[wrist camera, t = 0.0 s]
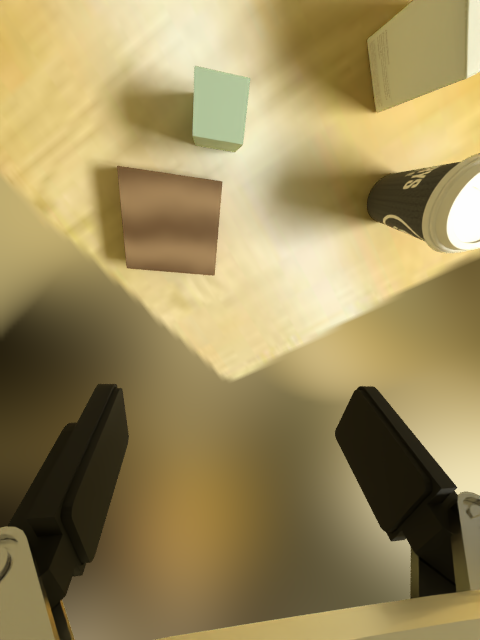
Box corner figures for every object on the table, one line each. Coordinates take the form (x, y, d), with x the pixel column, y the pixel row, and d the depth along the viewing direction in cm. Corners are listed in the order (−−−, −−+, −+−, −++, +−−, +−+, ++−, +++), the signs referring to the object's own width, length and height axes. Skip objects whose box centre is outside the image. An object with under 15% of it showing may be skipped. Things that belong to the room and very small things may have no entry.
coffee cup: (430, 195, 37) (549, 204, 24) (377, 244, 40) (459, 275, 27) (400, 143, 33) (523, 120, 20) (344, 201, 36) (421, 213, 23)
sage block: (197, 93, 28) (194, 65, 22) (239, 102, 29) (250, 78, 22) (195, 145, 31) (192, 135, 24) (234, 152, 32) (242, 144, 25)
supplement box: (374, 115, 32) (463, 81, 21) (365, 38, 28) (467, -52, 17) (431, 85, 31) (555, 33, 20) (429, 2, 27) (580, -119, 16)
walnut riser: (126, 167, 31) (117, 165, 28) (220, 181, 33) (222, 181, 30) (134, 259, 37) (126, 268, 34) (213, 267, 39) (214, 275, 36)
